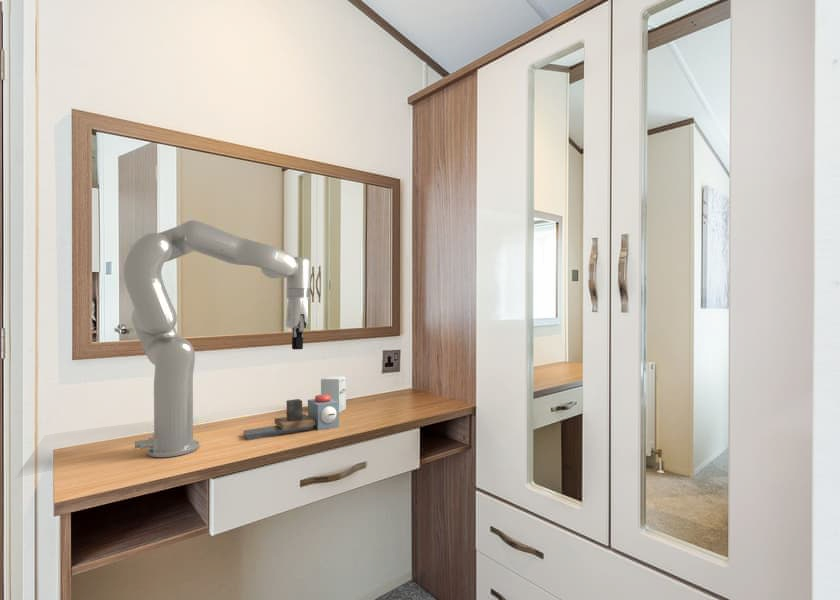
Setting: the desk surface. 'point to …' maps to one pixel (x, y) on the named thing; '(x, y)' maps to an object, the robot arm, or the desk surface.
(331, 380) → the supplement box
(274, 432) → the track
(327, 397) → the button
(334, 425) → the gauge cabinet
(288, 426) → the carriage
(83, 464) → the desk surface
